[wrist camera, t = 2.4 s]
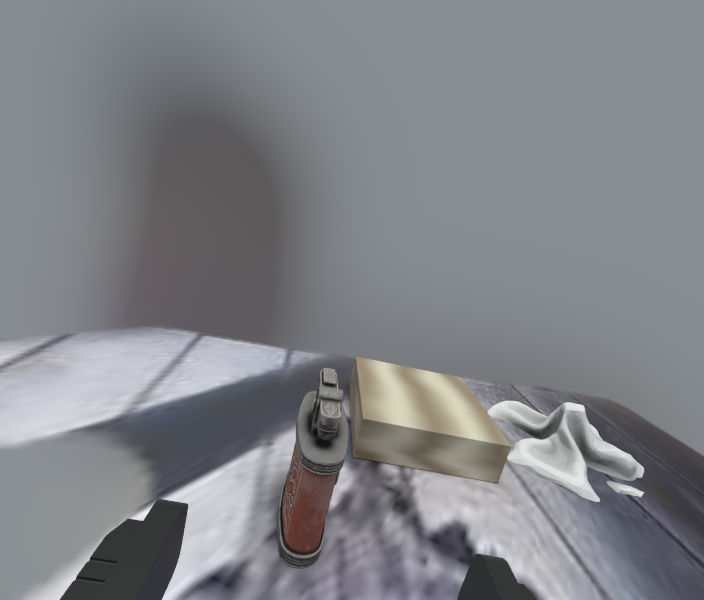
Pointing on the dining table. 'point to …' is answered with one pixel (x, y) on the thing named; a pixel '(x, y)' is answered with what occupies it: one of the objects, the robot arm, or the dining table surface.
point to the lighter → (312, 473)
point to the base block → (422, 422)
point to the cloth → (566, 448)
